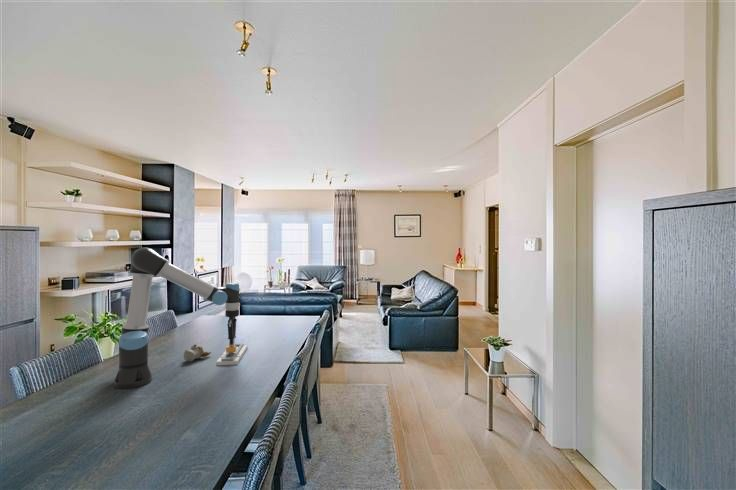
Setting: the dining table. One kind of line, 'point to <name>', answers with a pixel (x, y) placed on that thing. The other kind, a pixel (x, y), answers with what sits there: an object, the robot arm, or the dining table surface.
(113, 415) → the dining table surface
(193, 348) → the ceramic sculpture
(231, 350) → the fader
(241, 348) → the console
